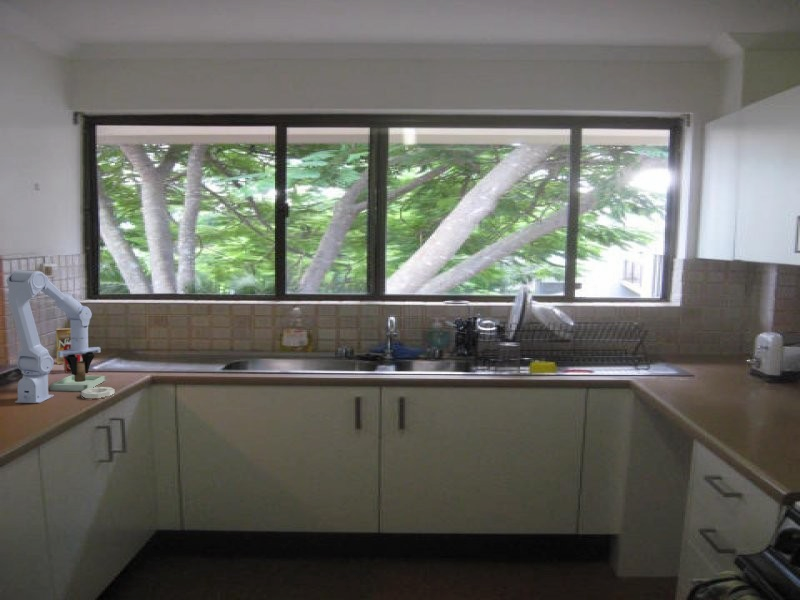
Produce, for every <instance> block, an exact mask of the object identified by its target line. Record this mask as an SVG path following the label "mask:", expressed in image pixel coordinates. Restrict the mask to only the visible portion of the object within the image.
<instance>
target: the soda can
mask: <svg viewBox="0 0 800 600" xmlns="http://www.w3.org/2000/svg"><path fill="white" fill-rule="evenodd" d="M65 344H66V345H65V346H64V350H69V349H71V342H67V343H65ZM75 356H76V357H77V358H78V359H77V362H78V361H83V359H82V354H80V355H75ZM63 370H64V372H66V373H68V374H72V372H71V369H70V366H69V364H68V362H67V360H66V359H65V356H64V364H63Z"/></svg>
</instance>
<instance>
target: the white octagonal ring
mask: <svg viewBox="0 0 800 600" xmlns="http://www.w3.org/2000/svg"><path fill="white" fill-rule="evenodd" d="M114 393H116V391H115V388H113V387H110V386H96V387H94V388H88V389H85V390H83V391H81V397H82V396H83V397H85V398H101V397H105V396H110V395H112V394H114ZM83 397H82V398H83Z"/></svg>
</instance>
